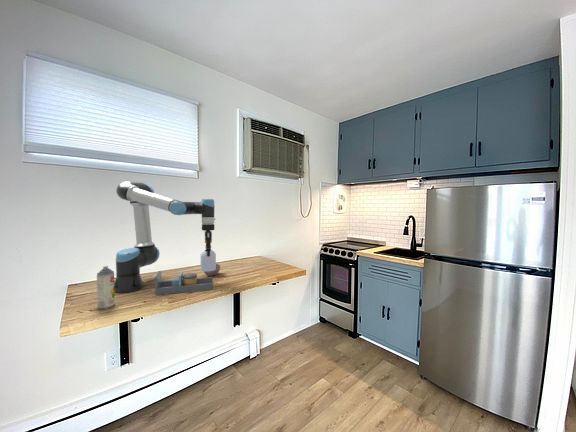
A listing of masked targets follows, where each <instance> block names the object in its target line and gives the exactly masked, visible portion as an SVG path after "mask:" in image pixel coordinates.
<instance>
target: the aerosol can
mask: <svg viewBox="0 0 576 432" xmlns="http://www.w3.org/2000/svg"><path fill="white" fill-rule="evenodd" d="M114 282H115V271H114V270H112V269H110V268H109V267H108V265H104V266H103V267H102V268H101V270H100V271H98V272H97V273H96V302H97V303H96V305H97V306H96V307H97V308H98V310H106V308H107V309H110V308H112V306H113V307H114V306H115V304H116V303H115V301H116V299H115V298H116V297H115V296H116V295H115V293H116V292H114Z"/></svg>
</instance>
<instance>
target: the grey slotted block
mask: <svg viewBox="0 0 576 432" xmlns="http://www.w3.org/2000/svg"><path fill="white" fill-rule="evenodd" d="M213 281H214V280H213V276H209V277H197V285H186V286H183V279H182V286H175V287H172V280H163V281H162V270H160V271H158V272H157V274H156V275H155V277H154V296H157V295H159V296H160V295H168V294H178V293H180V294H181V293H190V292H200V291H208V290H214V282H213Z"/></svg>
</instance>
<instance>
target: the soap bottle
mask: <svg viewBox="0 0 576 432" xmlns="http://www.w3.org/2000/svg"><path fill="white" fill-rule="evenodd" d="M205 233H206V231H204V234H205ZM210 233H212V234H213V230H210ZM212 237H213V235H212V236H211V243H212V242H213V239H212ZM204 243H205V244H206V240H205V239H204ZM207 249H208V248H207ZM205 250H206V245H205V249H204V250H203V251H202V252H201V253H200V271H201V272H203V273H204V272H209V271H214V270H215V269H216V264H217V263H216V262H217V260H216V259H217V258H216V257H217V256H216V255H217V253H216V252H215V251H214V250H212V249H211V261H210V262H206V251H205Z"/></svg>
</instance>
